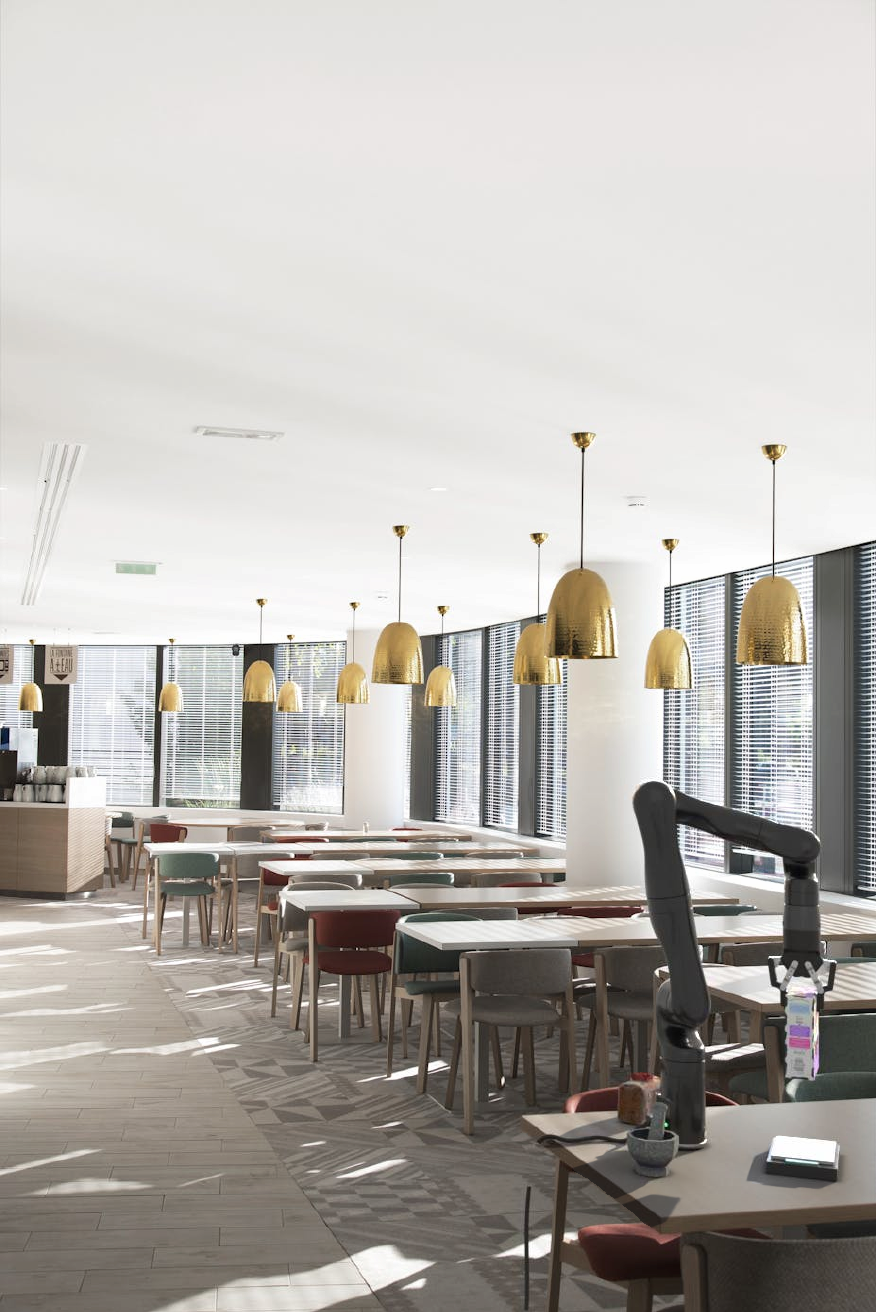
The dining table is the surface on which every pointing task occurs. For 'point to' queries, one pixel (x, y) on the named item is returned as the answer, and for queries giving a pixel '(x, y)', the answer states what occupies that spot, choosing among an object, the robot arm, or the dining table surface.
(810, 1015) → the candy box
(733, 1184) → the dining table surface
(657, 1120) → the mortar and pestle
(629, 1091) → the food item
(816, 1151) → the scale
